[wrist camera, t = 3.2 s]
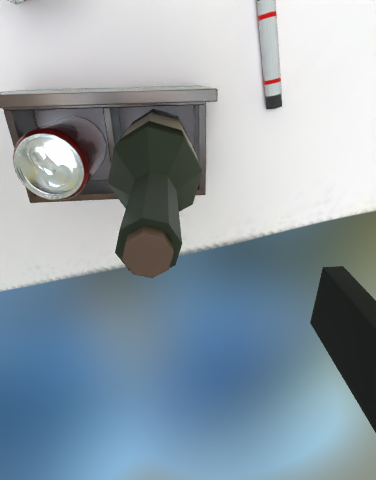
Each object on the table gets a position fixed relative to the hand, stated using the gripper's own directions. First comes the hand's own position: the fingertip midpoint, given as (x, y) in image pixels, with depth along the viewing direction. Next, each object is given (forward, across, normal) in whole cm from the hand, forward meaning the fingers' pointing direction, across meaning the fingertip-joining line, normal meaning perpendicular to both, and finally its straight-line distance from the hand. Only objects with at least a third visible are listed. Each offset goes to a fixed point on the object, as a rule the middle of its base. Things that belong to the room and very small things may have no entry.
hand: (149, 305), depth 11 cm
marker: (+34, +13, +12) cm, 38 cm away
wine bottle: (+34, 0, 0) cm, 34 cm away
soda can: (+34, -11, 0) cm, 35 cm away
